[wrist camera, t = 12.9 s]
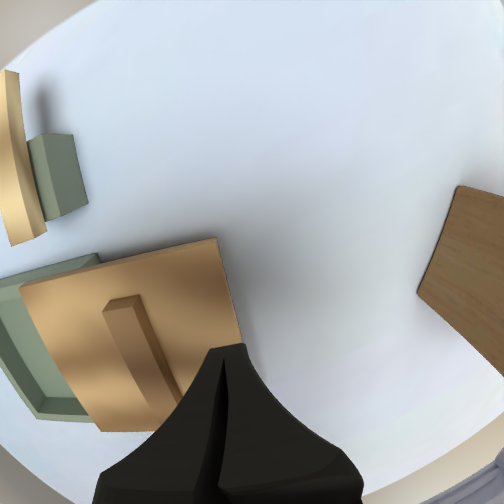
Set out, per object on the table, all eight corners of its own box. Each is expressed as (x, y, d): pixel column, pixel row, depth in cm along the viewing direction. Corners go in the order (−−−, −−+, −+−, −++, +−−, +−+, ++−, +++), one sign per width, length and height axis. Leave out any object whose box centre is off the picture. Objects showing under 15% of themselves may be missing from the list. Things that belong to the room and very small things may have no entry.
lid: (261, 409, 22) (265, 432, 19) (104, 423, 21) (97, 444, 19) (216, 237, 17) (214, 251, 15) (25, 282, 17) (6, 297, 14)
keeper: (88, 203, 19) (60, 216, 15) (45, 218, 19) (15, 233, 15) (72, 134, 17) (42, 133, 13) (30, 154, 17) (-3, 158, 13)
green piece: (159, 397, 24) (154, 421, 22) (46, 400, 24) (36, 419, 21) (96, 252, 20) (79, 268, 17) (-17, 284, 20) (-35, 298, 17)
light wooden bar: (47, 231, 15) (34, 238, 13) (24, 239, 15) (11, 246, 13) (19, 73, 11) (4, 69, 10) (-3, 87, 11) (-18, 85, 10)
